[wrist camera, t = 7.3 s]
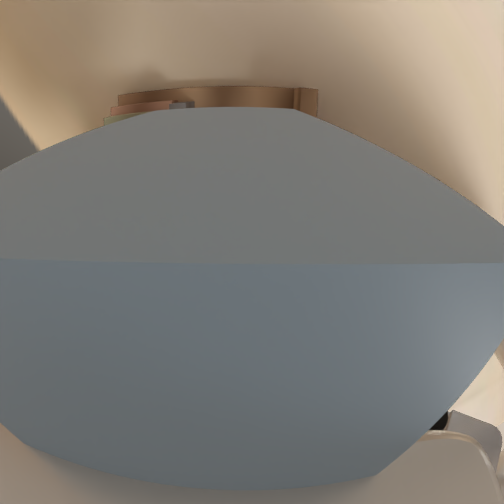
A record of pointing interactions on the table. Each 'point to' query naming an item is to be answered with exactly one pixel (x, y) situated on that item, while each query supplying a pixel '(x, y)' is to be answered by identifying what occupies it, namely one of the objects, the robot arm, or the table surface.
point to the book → (237, 300)
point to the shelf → (214, 100)
